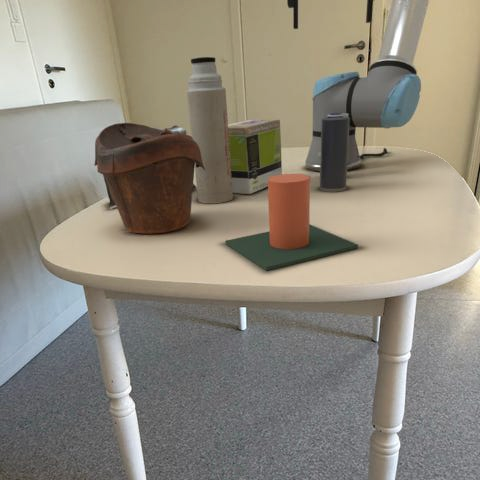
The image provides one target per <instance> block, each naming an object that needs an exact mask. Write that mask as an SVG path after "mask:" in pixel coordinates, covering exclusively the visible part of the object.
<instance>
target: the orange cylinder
mask: <svg viewBox="0 0 480 480" xmlns="http://www.w3.org/2000/svg"><path fill="white" fill-rule="evenodd" d="M267 191H268V192H267V193H268V195H267V199H268V226H269V227H268V232H269V234H270V245H271V246H273V247H275V248H279V249H297V248H301V247H304V246H306V245H308V244H309V224H310V199H311V196H310V195H311V177H310V175H308V174H304V173H282V174H281V175H275V176H272V177H269V178H268V187H267Z"/></svg>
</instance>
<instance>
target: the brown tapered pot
mask: <svg viewBox="0 0 480 480" xmlns="http://www.w3.org/2000/svg"><path fill="white" fill-rule="evenodd" d="M164 129H165V131H163V130H164ZM164 129H160V128H155V127H151V126H148V125H144V124H139V123H133V122H118V123H114V124H111V125H108V126H106V127H104V129H102V130H101V131H100V132H99V134H98V136H97V137H96V138H95V141H94V164H93V165H94V167H96V166H97V168H96V169H97V173H99V174H101V175H103V174H104V176H105V179H106V181H107V184H108V186H109V189H110V192H111V194H112V196H113V199H114V201H115V204H116V206H117V208H116V209H117V211H118V213H119V217H120V218H121V221H122V224H123V226H124V228H125V230H127V232H129V233H132V234H141V235H142V234H143V235H145V234H146V235H147V234H149V235H151V234H165V233H170V232H175V231H178V230H181V229H182V228H184V227H186V226H188V224H189V223H190V222H191V218H192V202H193V190H194V189H193V183H194V178H195V163H196V167H197V168H198V167H202V168H203V169H204V170H205V168H204V166H203V162H202V158H201V152H200V148H199V146H198V144H197V143H196V142H195V141H194V140H193V138H192V136H191V135H189V134H186V135H185V134H173V133H171V132H172V131H171V130H168V129H167V128H166V127H165V128H164ZM205 171H206V170H205Z"/></svg>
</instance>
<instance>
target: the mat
mask: <svg viewBox="0 0 480 480" xmlns="http://www.w3.org/2000/svg"><path fill="white" fill-rule="evenodd" d="M225 245H226V246H228V247H229V248H231V249H232V250H234V251H235V252H238V253H239V254H240V255H242V256H243V257H245V258H246V259H248V260H249V261H251V262H252V263H254V264H255V265H256V266H258V267H259V268H261V269H263V270H264V271H266V272H267V271H271V270H272V271H273V270H276V269H280V268H283V267H289V266H291V265H292V266H293V265H296V264H299V263H300V264H301V263H304V262H308V261H312V260H316V259H320V258H324V257H328V256H332V255H336V254H340V253H345V252H348V251H353V250H357V249H358V247H359V245H358V244H357V243H355V242H353V241H350V240H349V239H346V238H342V237H341V236H338V235H336V234H333V233H331V232H329V231H327V230H324V229H322V228H319V227H316V226H315V225H312V224H310V223H309V244H308V245H306V246H304V247H301V248H297V249H279V248H275V247H273V246H271V245H270V234H269V231H265V232H259V233H255V234H250V235H245V236H242V237H237V238H231V239H226V240H225Z"/></svg>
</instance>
